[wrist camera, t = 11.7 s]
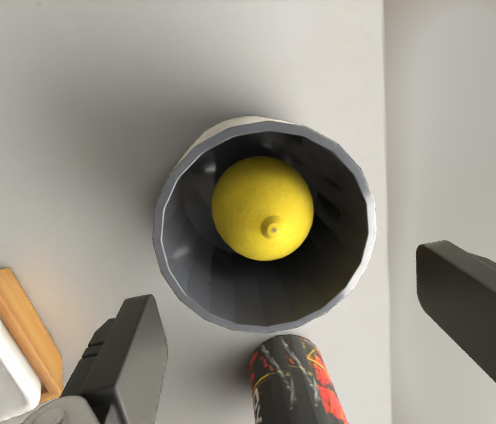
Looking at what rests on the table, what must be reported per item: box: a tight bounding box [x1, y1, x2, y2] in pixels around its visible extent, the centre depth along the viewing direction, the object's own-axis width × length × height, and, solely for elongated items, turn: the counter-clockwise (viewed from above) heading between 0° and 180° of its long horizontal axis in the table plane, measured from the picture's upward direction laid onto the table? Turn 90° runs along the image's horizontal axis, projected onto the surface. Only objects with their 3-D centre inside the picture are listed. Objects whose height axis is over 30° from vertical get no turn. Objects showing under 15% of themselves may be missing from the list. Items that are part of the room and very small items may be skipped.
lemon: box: [211, 156, 314, 261], centre depth 19 cm, size 6×6×8 cm
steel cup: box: [152, 116, 376, 333], centre depth 19 cm, size 10×10×9 cm
